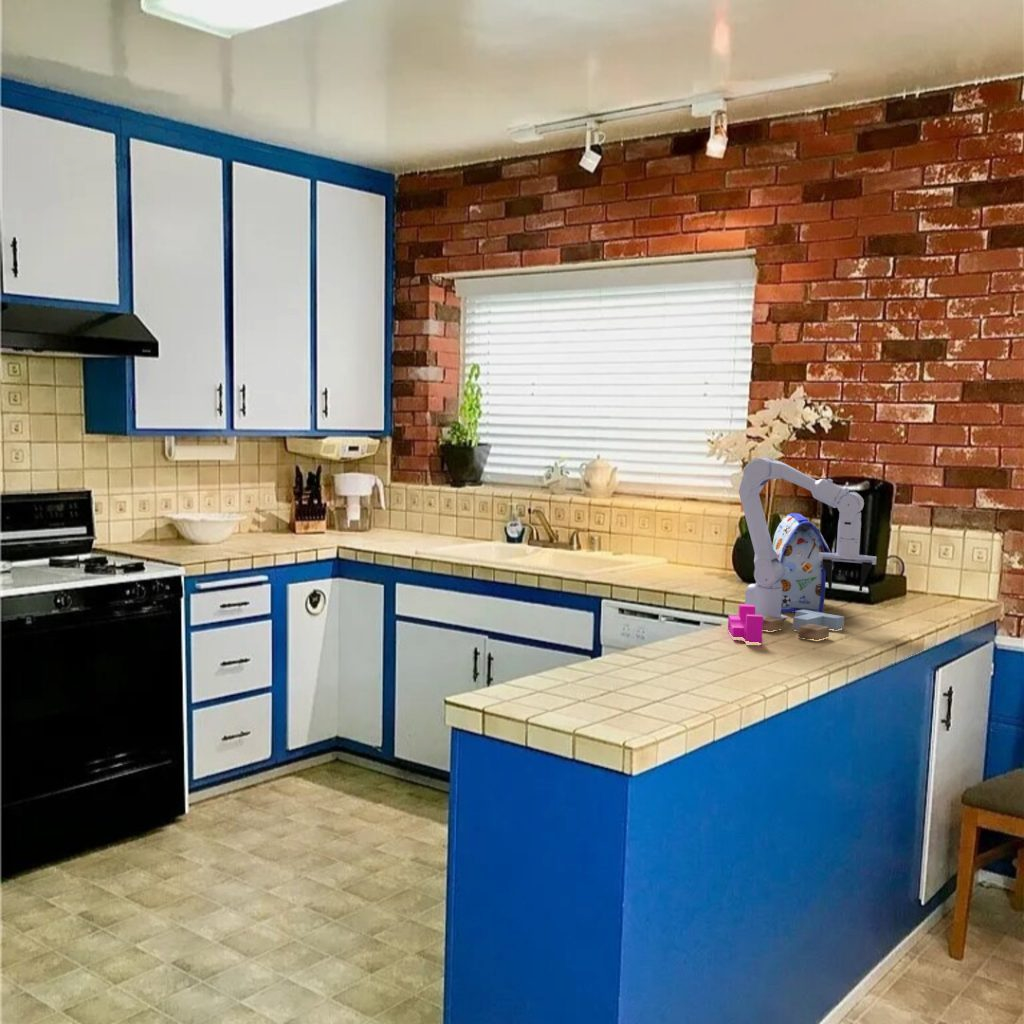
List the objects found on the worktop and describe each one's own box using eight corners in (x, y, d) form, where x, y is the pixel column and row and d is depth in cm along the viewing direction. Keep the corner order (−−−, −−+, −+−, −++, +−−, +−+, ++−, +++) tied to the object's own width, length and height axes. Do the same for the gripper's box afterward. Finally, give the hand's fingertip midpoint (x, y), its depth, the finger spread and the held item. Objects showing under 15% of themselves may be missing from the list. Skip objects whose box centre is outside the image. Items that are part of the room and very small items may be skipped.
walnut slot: (753, 629, 269) (754, 618, 269) (765, 626, 273) (766, 615, 273) (816, 642, 256) (817, 630, 256) (828, 638, 260) (829, 626, 260)
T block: (778, 628, 272) (779, 614, 272) (802, 622, 281) (803, 609, 280) (820, 636, 264) (821, 622, 263) (843, 629, 272) (844, 616, 272)
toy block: (727, 632, 266) (729, 603, 265) (752, 633, 265) (753, 604, 265) (735, 645, 251) (736, 615, 250) (761, 647, 251) (763, 616, 250)
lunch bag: (833, 615, 291) (839, 520, 288) (773, 612, 293) (778, 518, 290) (817, 600, 314) (822, 512, 311) (762, 598, 315) (766, 510, 312)
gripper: (819, 538, 271) (815, 589, 273) (877, 542, 266) (874, 594, 268) (820, 535, 278) (817, 585, 279) (877, 539, 273) (874, 589, 275)
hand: (845, 589), depth 274 cm, fingers open, 7 cm apart
